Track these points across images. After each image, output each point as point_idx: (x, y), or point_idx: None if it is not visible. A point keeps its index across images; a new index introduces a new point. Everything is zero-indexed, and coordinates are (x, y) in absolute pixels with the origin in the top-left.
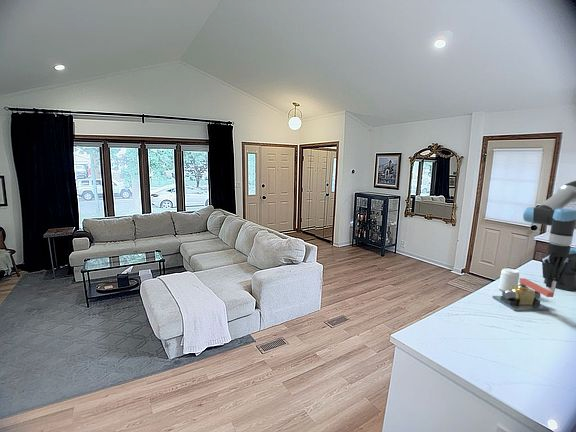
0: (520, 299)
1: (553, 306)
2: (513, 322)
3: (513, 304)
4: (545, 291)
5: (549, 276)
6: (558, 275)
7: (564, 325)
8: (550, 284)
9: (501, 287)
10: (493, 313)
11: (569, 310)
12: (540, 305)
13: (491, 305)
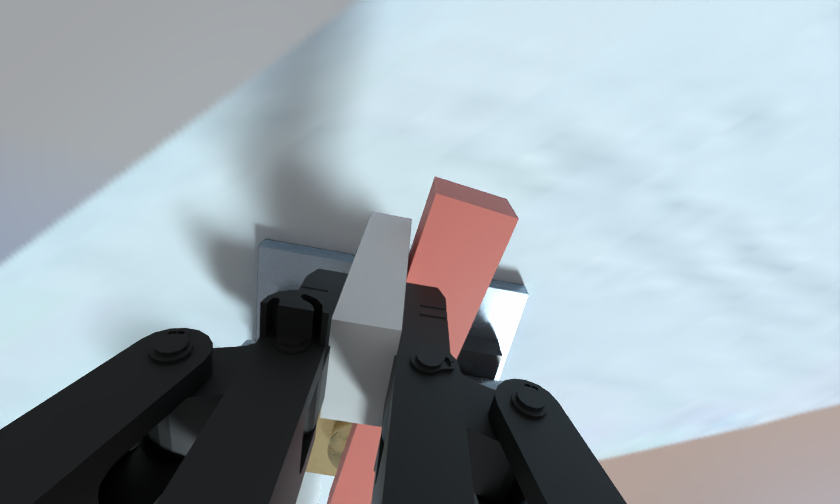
0: None
1: (164, 276)
2: (724, 167)
3: (472, 336)
4: (500, 257)
5: (546, 453)
6: (241, 440)
7: (382, 40)
8: (421, 315)
9: (319, 497)
10: (706, 289)
11: (94, 210)
12: (282, 290)
13: (592, 365)
